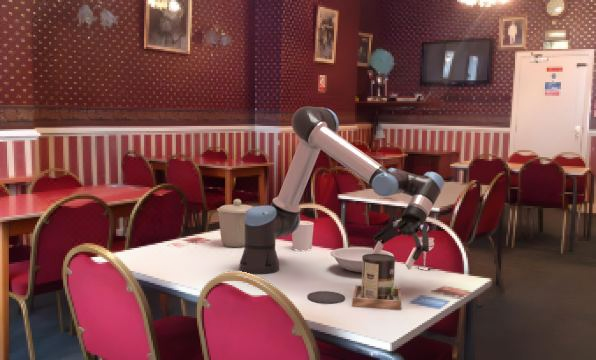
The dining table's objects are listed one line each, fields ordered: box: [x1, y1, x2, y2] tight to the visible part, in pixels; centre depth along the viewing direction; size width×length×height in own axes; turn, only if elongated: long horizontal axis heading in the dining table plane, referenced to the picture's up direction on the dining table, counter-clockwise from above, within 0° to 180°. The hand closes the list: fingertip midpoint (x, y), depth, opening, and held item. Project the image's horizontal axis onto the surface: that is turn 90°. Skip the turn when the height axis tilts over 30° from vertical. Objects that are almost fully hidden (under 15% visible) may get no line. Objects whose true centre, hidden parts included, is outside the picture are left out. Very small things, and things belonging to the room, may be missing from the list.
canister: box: [216, 198, 254, 248], centre depth 260 cm, size 18×18×21 cm
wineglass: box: [418, 236, 435, 268], centre depth 225 cm, size 7×7×12 cm
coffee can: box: [360, 254, 396, 300], centre depth 181 cm, size 10×10×14 cm
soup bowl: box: [330, 246, 395, 273], centre depth 219 cm, size 24×24×7 cm
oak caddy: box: [351, 285, 402, 311], centre depth 181 cm, size 15×15×2 cm
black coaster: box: [306, 290, 346, 305], centre depth 183 cm, size 12×12×1 cm
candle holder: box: [291, 220, 315, 250], centre depth 255 cm, size 10×10×12 cm
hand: (389, 263), depth 183 cm, fingers open, 13 cm apart
